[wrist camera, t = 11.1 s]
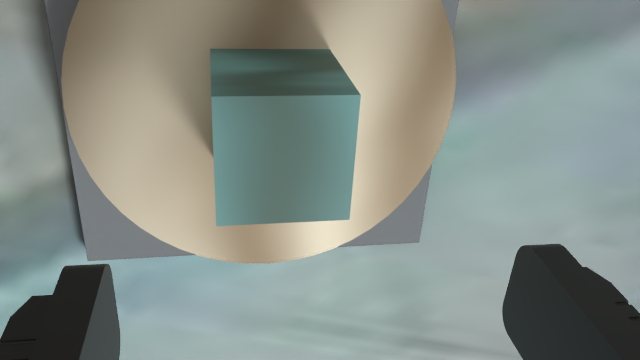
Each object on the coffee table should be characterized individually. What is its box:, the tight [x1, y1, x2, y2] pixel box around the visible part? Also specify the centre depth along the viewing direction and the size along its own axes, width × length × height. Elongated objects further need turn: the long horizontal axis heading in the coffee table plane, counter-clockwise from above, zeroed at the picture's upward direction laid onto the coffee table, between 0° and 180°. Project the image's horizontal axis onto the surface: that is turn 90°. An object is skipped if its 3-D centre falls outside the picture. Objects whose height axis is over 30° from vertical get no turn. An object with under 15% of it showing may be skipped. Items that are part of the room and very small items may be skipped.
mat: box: [44, 0, 459, 261], centre depth 21 cm, size 14×14×1 cm
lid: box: [61, 0, 456, 263], centre depth 19 cm, size 14×14×6 cm
